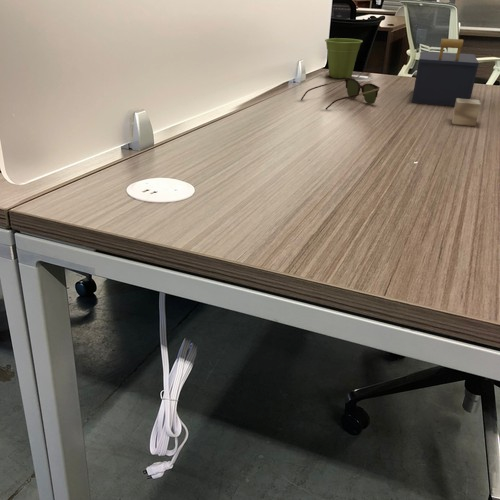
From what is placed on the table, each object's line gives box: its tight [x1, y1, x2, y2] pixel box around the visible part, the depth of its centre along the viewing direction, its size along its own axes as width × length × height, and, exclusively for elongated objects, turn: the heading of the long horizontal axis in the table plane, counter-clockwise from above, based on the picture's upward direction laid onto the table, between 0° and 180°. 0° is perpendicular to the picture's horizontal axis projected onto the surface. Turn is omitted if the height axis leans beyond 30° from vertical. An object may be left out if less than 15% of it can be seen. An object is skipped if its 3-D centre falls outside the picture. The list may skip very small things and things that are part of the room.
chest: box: [411, 61, 479, 107], centre depth 135 cm, size 18×14×10 cm
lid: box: [418, 38, 480, 67], centre depth 131 cm, size 19×14×6 cm
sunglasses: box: [300, 77, 380, 110], centre depth 128 cm, size 14×15×5 cm
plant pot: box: [324, 37, 363, 80], centre depth 162 cm, size 12×12×11 cm
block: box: [451, 98, 481, 127], centre depth 112 cm, size 5×5×5 cm
